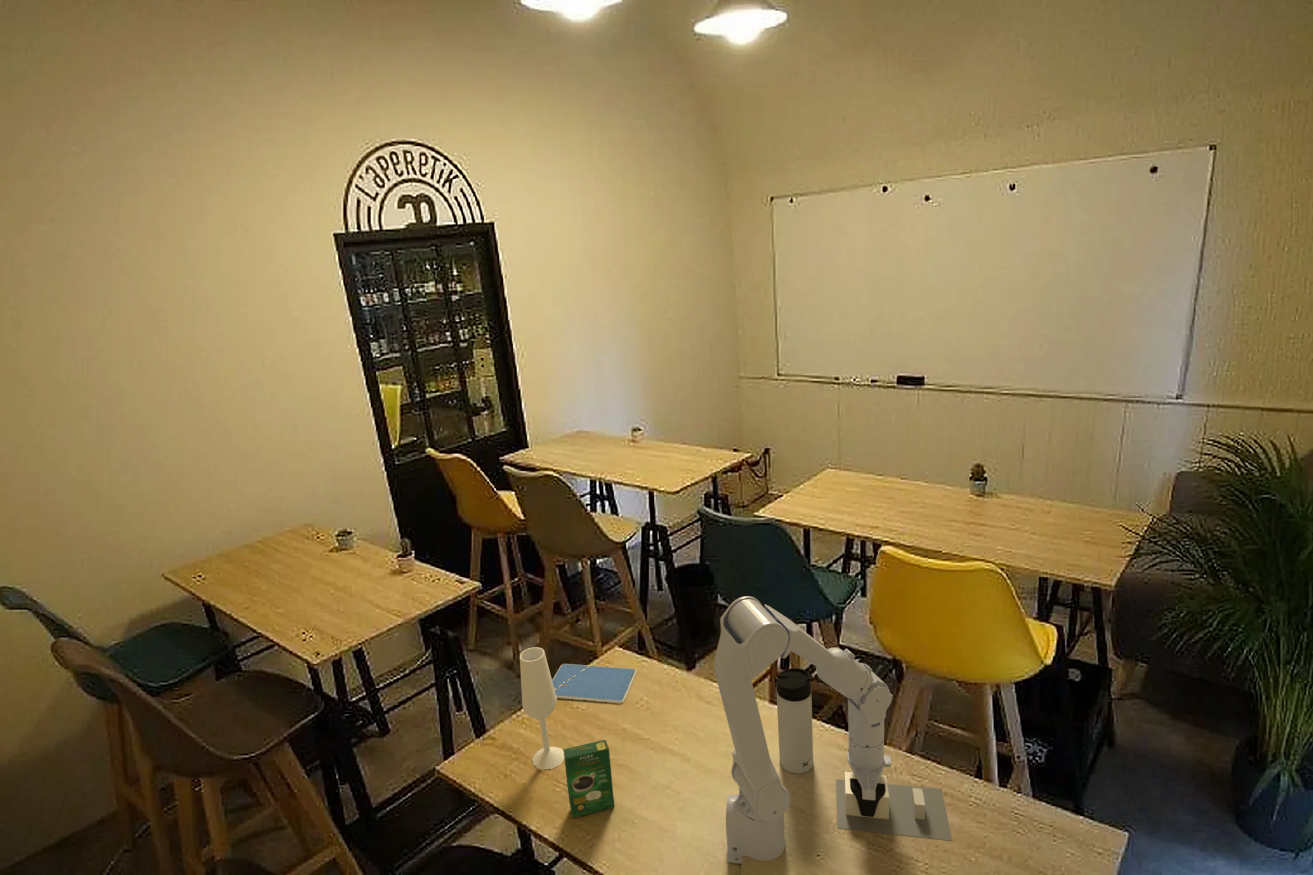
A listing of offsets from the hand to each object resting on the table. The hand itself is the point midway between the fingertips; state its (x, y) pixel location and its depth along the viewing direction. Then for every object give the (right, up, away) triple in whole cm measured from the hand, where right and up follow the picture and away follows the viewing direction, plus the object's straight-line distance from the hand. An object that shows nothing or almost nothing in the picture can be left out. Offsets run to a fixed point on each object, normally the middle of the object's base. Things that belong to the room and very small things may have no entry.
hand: (866, 801), depth 121 cm
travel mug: (-10, 0, +12) cm, 15 cm away
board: (+4, -2, 0) cm, 4 cm away
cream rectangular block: (0, -1, 0) cm, 1 cm away
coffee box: (-48, -5, +6) cm, 48 cm away
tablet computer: (-51, +5, +42) cm, 67 cm away
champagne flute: (-58, -2, +20) cm, 61 cm away
